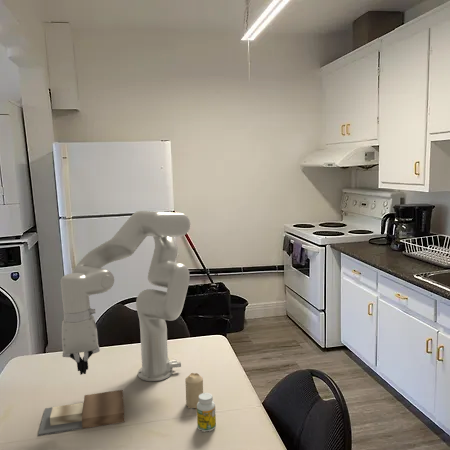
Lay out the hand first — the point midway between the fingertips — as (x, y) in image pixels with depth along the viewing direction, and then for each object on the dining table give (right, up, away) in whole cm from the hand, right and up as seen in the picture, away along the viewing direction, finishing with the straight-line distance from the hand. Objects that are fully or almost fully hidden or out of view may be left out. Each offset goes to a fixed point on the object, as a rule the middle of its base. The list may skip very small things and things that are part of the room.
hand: (83, 372), depth 133 cm
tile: (-5, -12, -1) cm, 13 cm away
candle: (+34, -13, +6) cm, 36 cm away
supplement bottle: (+38, -14, -6) cm, 41 cm away
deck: (+6, -13, +3) cm, 15 cm away
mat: (-6, -14, 0) cm, 15 cm away
